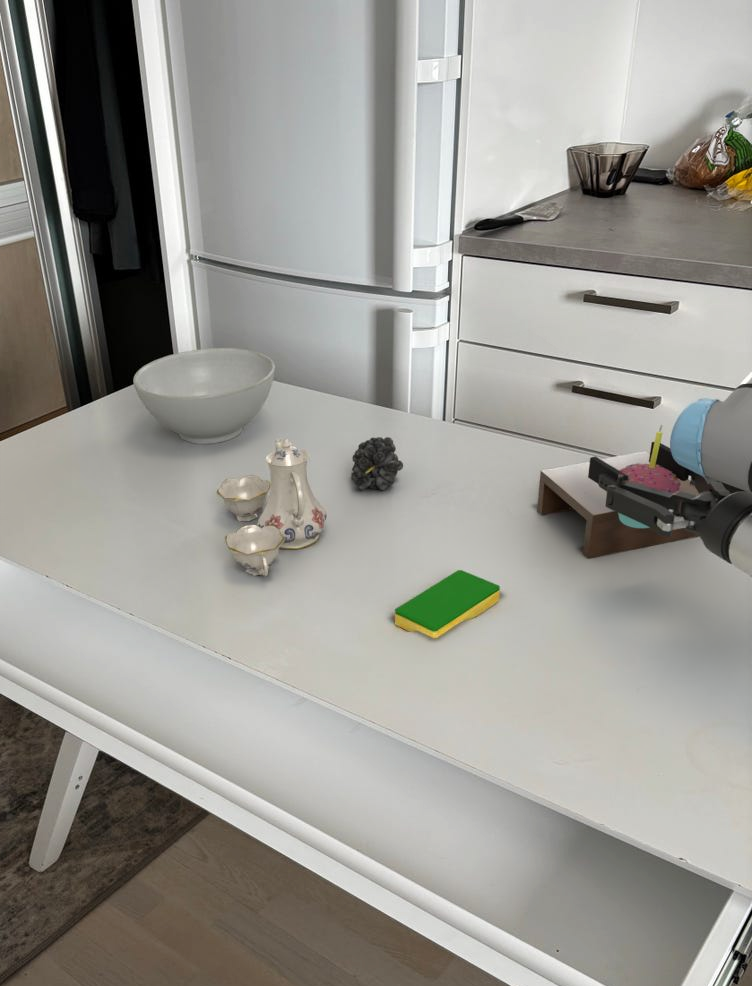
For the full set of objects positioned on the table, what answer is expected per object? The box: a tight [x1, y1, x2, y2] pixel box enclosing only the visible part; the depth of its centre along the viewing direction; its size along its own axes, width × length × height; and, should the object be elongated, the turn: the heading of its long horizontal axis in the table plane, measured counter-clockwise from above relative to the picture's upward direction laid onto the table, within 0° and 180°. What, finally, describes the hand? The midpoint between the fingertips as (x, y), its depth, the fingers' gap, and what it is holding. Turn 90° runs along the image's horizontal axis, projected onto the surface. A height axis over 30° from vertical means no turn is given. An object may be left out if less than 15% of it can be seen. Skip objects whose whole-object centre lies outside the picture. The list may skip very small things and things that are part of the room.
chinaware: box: [216, 438, 327, 577], centre depth 149 cm, size 28×17×17 cm, turn 12°
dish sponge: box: [394, 569, 501, 639], centre depth 132 cm, size 7×14×2 cm, turn 132°
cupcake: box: [618, 424, 681, 528], centre depth 120 cm, size 9×8×12 cm
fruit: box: [350, 436, 404, 491], centre depth 166 cm, size 9×8×15 cm
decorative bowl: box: [132, 347, 276, 445], centre depth 188 cm, size 27×27×12 cm
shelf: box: [536, 450, 700, 559], centre depth 147 cm, size 18×16×7 cm
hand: (622, 459), depth 123 cm, fingers closed on cupcake, 8 cm apart
